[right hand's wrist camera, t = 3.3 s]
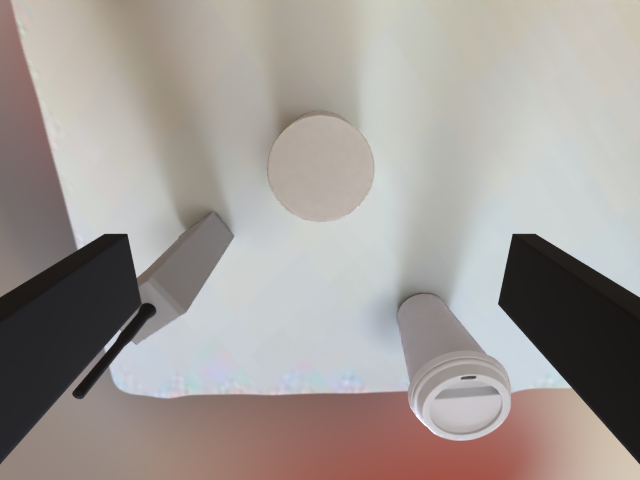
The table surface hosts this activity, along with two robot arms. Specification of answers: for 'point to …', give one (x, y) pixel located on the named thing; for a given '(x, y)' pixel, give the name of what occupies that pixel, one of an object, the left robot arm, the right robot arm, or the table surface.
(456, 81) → the table surface
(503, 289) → the right robot arm
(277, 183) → the can
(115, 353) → the vintage mobile phone
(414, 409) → the coffee cup
